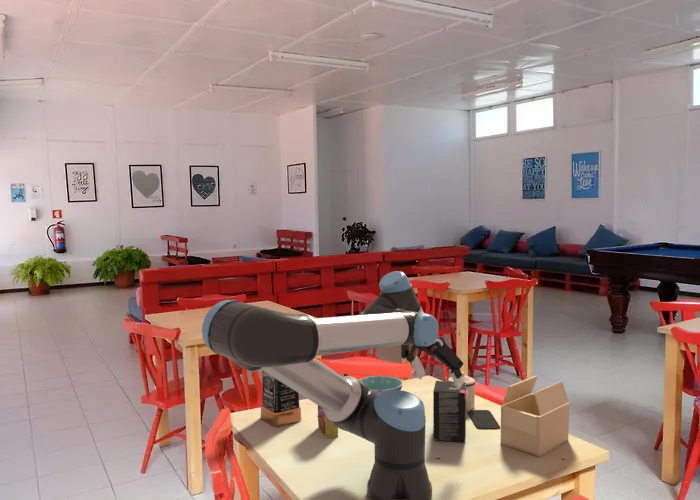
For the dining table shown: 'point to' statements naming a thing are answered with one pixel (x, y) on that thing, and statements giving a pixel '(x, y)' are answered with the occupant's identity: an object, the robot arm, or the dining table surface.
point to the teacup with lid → (468, 390)
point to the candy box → (326, 425)
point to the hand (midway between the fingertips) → (440, 380)
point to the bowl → (382, 383)
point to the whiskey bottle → (279, 402)
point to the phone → (483, 419)
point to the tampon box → (449, 412)
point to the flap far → (519, 389)
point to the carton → (533, 426)
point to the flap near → (551, 398)
